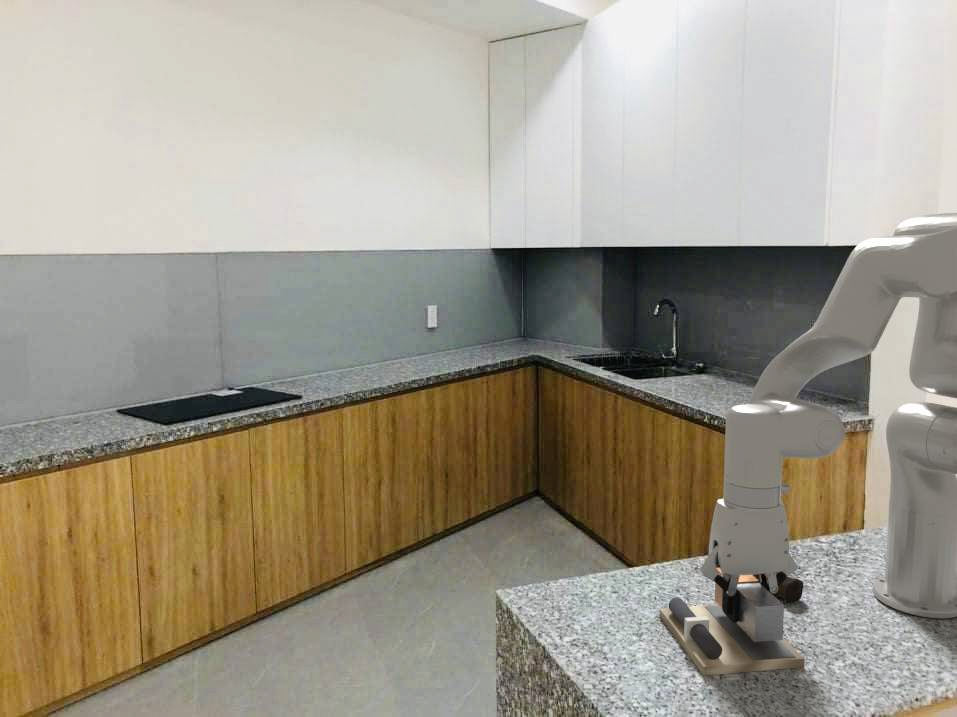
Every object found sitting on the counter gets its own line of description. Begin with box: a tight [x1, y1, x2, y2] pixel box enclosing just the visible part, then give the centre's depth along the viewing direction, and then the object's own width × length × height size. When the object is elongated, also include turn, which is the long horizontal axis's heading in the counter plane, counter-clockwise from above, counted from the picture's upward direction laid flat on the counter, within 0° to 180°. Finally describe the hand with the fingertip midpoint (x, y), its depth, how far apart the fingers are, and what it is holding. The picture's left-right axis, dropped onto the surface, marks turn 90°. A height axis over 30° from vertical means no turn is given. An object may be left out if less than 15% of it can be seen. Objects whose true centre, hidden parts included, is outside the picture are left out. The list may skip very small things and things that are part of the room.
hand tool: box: [707, 547, 805, 605], centre depth 121 cm, size 19×4×5 cm, turn 24°
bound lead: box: [668, 596, 722, 660], centre depth 101 cm, size 3×13×3 cm, turn 6°
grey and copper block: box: [714, 567, 785, 642], centre depth 102 cm, size 4×12×5 cm, turn 6°
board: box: [659, 603, 806, 676], centre depth 102 cm, size 14×16×1 cm
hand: (747, 615), depth 102 cm, fingers closed on grey and copper block, 4 cm apart
